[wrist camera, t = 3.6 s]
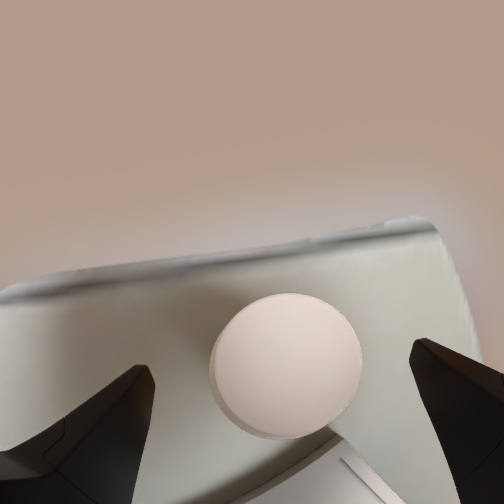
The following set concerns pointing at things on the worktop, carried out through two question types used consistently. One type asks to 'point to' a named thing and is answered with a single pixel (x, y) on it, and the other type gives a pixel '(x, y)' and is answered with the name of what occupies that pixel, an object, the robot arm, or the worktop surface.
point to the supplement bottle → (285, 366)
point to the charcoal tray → (324, 480)
